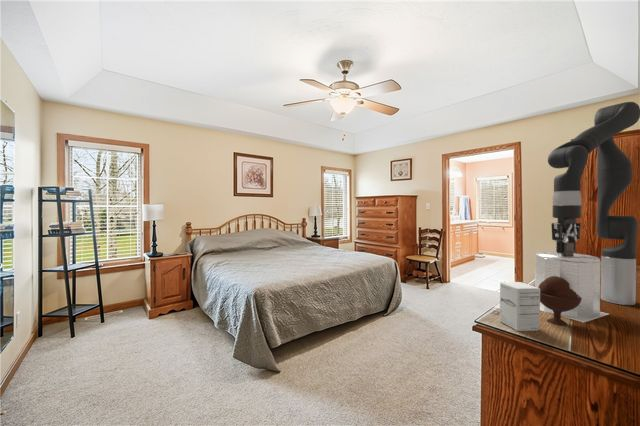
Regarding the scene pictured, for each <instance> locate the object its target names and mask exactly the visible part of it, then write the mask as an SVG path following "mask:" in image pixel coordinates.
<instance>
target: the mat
mask: <svg viewBox="0 0 640 426" xmlns="http://www.w3.org/2000/svg"><path fill="white" fill-rule="evenodd" d="M540 311H542V312H545V313H547V312H546V311H543V310H541V309H540ZM548 313H550V312H548ZM550 314H553V313H550ZM553 315H554V314H553ZM608 315H610V313H607V312H602V311H600V317H597V318H594V319H579V318H572V317H566V316H561V317H563V318H566V319H570V320H573V321H577V322H579V323H580V322H581V323H583V324H584V323H588V322H590V321H594V320H596V319H599V318H602V317H605V316H608Z"/></svg>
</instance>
